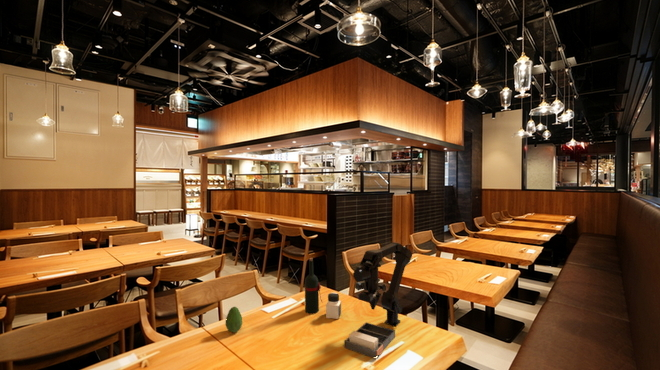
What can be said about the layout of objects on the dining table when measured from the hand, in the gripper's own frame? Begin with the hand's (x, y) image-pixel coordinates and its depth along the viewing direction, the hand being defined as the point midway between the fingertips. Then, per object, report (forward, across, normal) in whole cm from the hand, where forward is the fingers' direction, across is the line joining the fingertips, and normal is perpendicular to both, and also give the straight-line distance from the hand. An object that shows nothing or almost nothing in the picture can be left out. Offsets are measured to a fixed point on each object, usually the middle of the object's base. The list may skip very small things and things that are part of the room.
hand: (373, 309), depth 139 cm
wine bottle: (+11, -3, -39) cm, 41 cm away
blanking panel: (+10, +16, +3) cm, 19 cm away
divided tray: (+11, +9, +3) cm, 15 cm away
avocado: (+11, +37, -58) cm, 70 cm away
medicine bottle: (+11, -4, -26) cm, 29 cm away
